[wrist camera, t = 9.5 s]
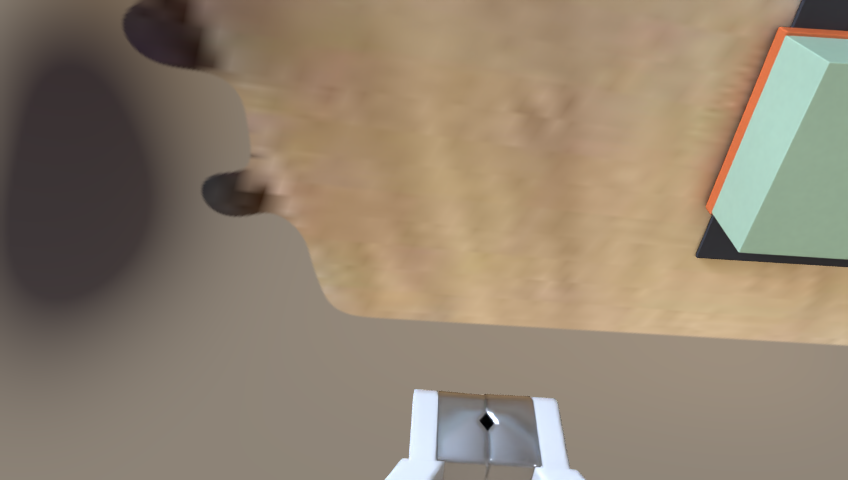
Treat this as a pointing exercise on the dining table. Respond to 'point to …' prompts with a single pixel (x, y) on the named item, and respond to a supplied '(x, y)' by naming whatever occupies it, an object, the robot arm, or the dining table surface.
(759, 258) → the mat
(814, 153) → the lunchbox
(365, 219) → the dining table surface
